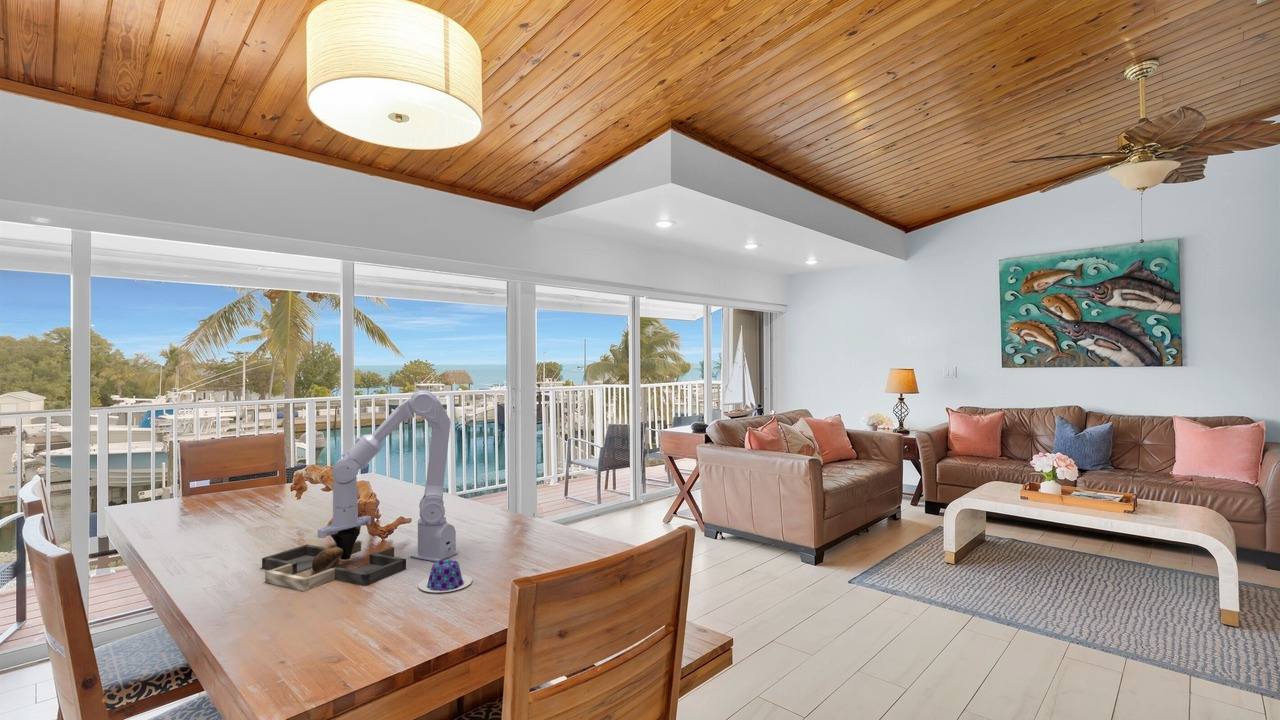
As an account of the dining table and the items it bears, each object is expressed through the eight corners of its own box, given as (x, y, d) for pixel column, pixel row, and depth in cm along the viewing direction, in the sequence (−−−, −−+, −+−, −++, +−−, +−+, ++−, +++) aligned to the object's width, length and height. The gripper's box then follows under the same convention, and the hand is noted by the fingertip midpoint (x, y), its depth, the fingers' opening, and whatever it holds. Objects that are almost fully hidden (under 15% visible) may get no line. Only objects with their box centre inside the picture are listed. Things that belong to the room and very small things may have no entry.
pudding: (417, 580, 146) (417, 558, 146) (469, 573, 150) (469, 552, 150) (418, 598, 134) (418, 575, 134) (474, 591, 139) (474, 568, 139)
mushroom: (357, 554, 153) (341, 536, 152) (334, 576, 146) (317, 557, 145) (341, 564, 157) (324, 546, 156) (317, 586, 150) (300, 567, 149)
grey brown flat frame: (423, 561, 158) (423, 552, 158) (335, 598, 134) (335, 586, 134) (332, 545, 171) (332, 536, 171) (237, 576, 147) (237, 565, 147)
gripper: (357, 498, 164) (357, 548, 164) (308, 510, 151) (309, 565, 151) (377, 500, 161) (377, 552, 161) (328, 513, 148) (329, 569, 148)
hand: (345, 558), depth 156 cm, fingers closed
